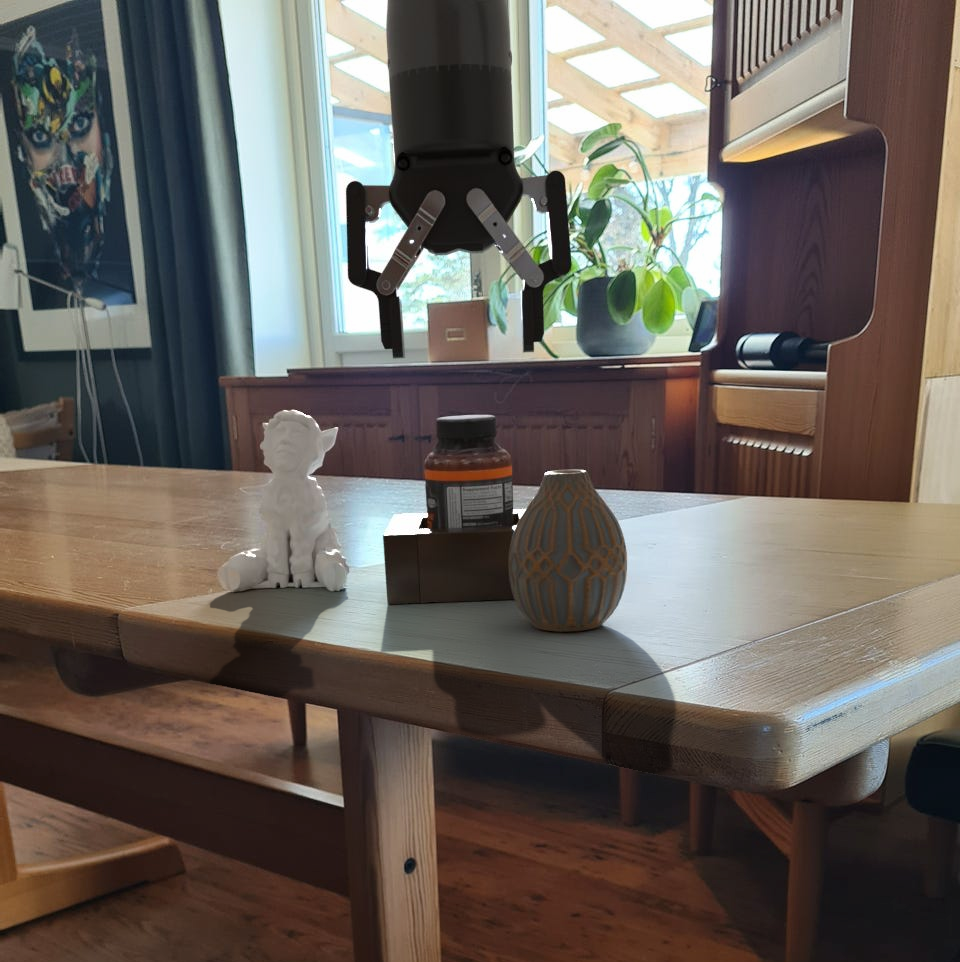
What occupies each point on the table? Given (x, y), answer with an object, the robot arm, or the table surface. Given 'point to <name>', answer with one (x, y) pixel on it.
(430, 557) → the holder
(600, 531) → the vase
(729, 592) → the table surface
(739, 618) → the table surface
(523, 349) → the robot arm
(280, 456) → the seated beast figurine
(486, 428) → the supplement bottle
